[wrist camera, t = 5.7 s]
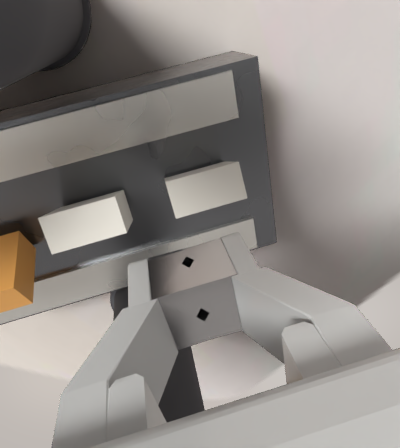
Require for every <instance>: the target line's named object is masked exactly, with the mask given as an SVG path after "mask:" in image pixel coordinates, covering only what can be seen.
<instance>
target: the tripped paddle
mask: <svg viewBox="0 0 400 448" xmlns="http://www.w3.org/2000/svg"><path fill="white" fill-rule="evenodd" d="M35 258H36V248H35V247H34V246H33V245H32V244H31V243H30V242H29V241H28V240H27V239H26V237H25V236H24V235H23V234H22V233H21V232H20V231H16V232H13V233H9V234H6V235H2V236H0V313H2V312H5V311H9V310H12V309H15V308H19V307H22V306H25V305H29V304H32V303H33V293H34V276H35Z"/></svg>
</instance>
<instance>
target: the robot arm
mask: <svg viewBox="0 0 400 448" xmlns="http://www.w3.org/2000/svg"><path fill="white" fill-rule="evenodd" d="M242 330H243V332H244V333H245V334H246V335H248V336H249V337H250V338H252V339H253V340H254V341H255V342H257V343H258V344H259V345H261V346H262V347H263V348H265V349H266V350H267V351H268V352H270V353H271V354H272V355H274V356H275V357H276V358H278V359H279V360H280V361H281V362H283V363H284V364H285V372H286V382H287V384H286V385H283V386H280V387H277V388H274V389H271V390H267V391H265V392H261V393H258V394H255V395H252V396H249V397H246V398H242V399H239V400H236V401H233V402H230V403H227V404H224V405H220V406H218V407H214V408H211V409H208V410H205V411H202V412H199V413H195V414H192V415H189V416H186V417H183V418H180V419H177V420H173V421H170V422H166V420H165V418H164V416H163V414H162V412H161V410H160V408H159V406H158V405H159V402H160V399H161V397H162V394H163V392H164V389H165V386H166V384H167V381H168V378H169V376H170V373H171V370H172V368H173V365H174V363H175V360H176V357H177V355H178V350H180V349H183V348H186V347H189V346H192V345H195V344H198V343H201V342H204V341H207V340H210V339H213V338H217V337H220V336H224V335H228V334H231V333H235V332H238V331H242ZM52 448H400V348H398V349H395V350H392V349H391V348H390V346H389V345H388V344H387V343H386V342H385V340H384V339H383V338H382V337H381V336H380V334H379V333H378V332H377V331H376V330H375V329H374V327H373V326H372V325H371V324H370V322H369V321H368V320H367V319H366V318H365V316H364V315H363V314H362V313H361V312H360V310H359V309H358V308H357V307H356V306H355V304H352V303H350V302H348V301H345V300H343V299H340V298H338V297H336V296H333V295H331V294H329V293H326V292H324V291H322V290H319V289H317V288H315V287H312V286H310V285H308V284H305V283H303V282H301V281H298V280H296V279H294V278H291V277H289V276H286V275H284V274H282V273H279V272H277V271H275V270H272V269H270V268H268V267H262V268H260V267H259V266H258V264H257V262H256V260H255V259H254V257H253V255H252V253H251V252H250V250H249V248H248V246H247V245H246V243H245V241H244V239H243V238H242V236H241V234H240V233H239V232H235V233H232V234H229V235H226V236H223V237H220V238H218V239H215V240H212V241H208V242H205V243H202V244H198V245H195V246H192V247H189V248H185V249H180V250H176V251H172V252H169V253H165V254H161V255H158V256H154V257H150V258H148V259H143V260H139V261H136V262H133V263H129V265H128V307H127V308H124V309H122V310H121V312H120V313H119V315H118V316H117V317H116V319H115V320H114V322H113V323H112V324H111V326H110V327H109V328H108V330H107V331H106V333H105V334H104V335H103V337H102V338H101V340H100V341H99V342H98V344H97V345H96V347H95V348H94V349H93V351H92V352H91V353H90V355H89V356H88V358H87V359H86V360H85V362H84V363H83V365H82V366H81V367H80V369H79V370H78V372H77V373H76V374H75V376H74V377H73V378H72V380H71V381H70V383H69V384H68V385H67V387H66V388H65V390H64V391H63V392H62V394H61V396H60V402H59V408H58V413H57V419H56V425H55V430H54V436H53V442H52Z"/></svg>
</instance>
